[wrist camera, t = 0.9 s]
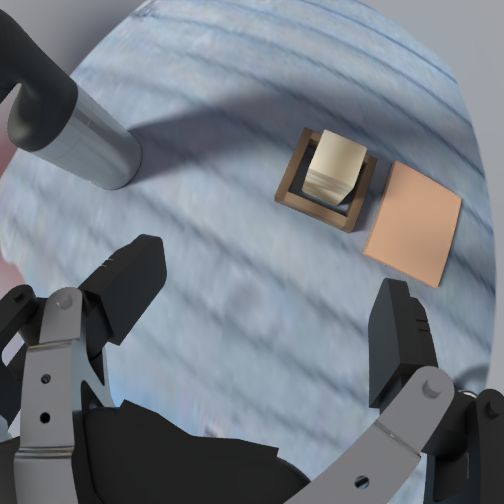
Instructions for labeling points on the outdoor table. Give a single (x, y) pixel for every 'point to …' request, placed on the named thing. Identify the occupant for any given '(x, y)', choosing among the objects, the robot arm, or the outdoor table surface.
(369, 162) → the walnut pocket frame
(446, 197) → the terracotta tile
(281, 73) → the outdoor table surface
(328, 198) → the ash block
